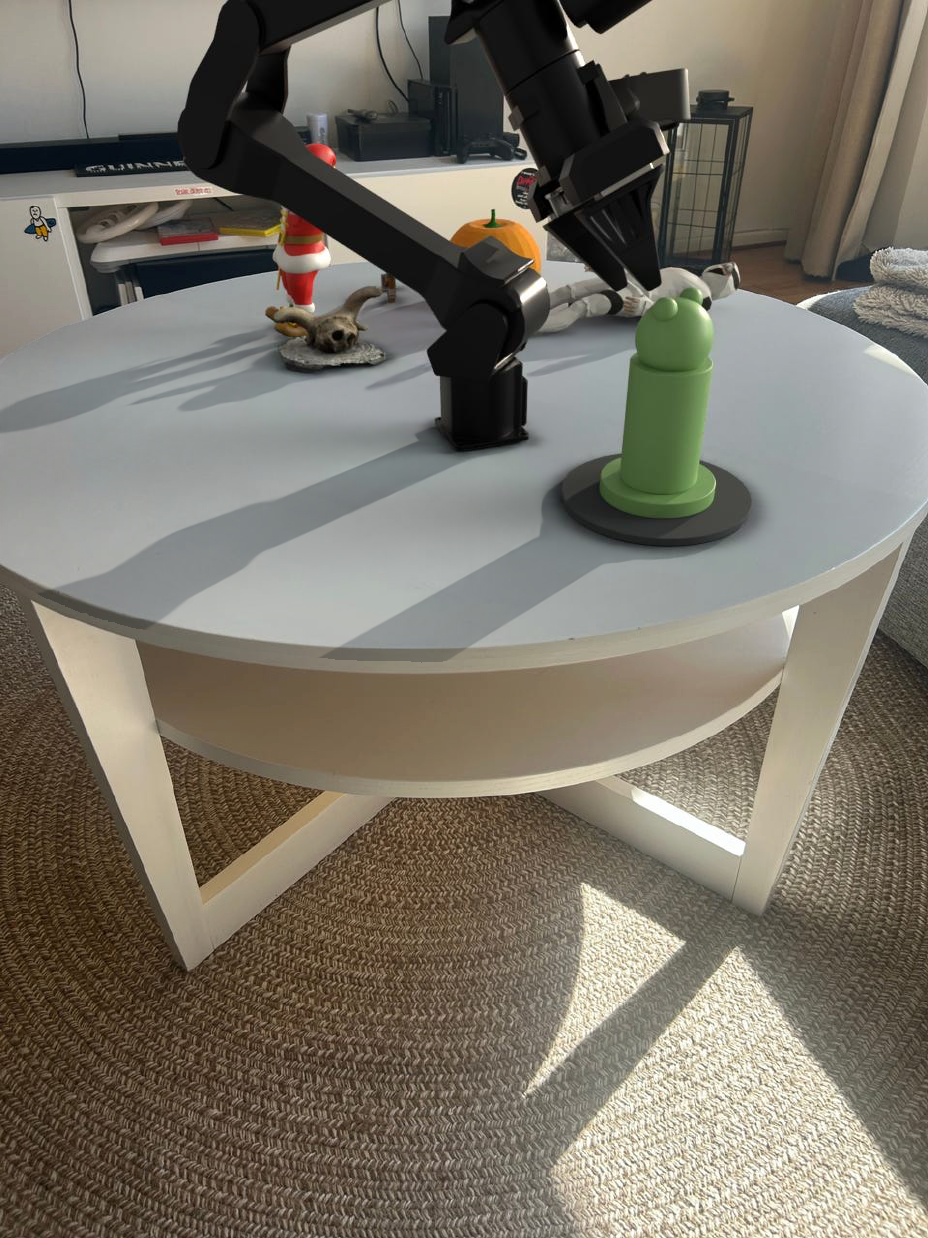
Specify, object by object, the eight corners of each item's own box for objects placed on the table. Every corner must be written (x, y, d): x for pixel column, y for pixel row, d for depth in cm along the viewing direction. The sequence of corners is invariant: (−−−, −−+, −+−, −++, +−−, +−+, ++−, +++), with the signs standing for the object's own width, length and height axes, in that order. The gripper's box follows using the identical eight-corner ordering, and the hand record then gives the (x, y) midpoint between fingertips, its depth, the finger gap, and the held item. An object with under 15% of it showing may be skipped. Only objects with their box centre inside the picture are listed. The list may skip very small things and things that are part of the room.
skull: (276, 351, 101) (262, 297, 97) (378, 326, 103) (368, 272, 99) (293, 388, 93) (278, 331, 89) (403, 359, 95) (393, 302, 91)
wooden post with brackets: (385, 300, 109) (382, 259, 109) (383, 310, 117) (380, 272, 116) (400, 300, 110) (398, 259, 109) (397, 309, 117) (395, 271, 117)
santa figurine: (247, 293, 112) (265, 120, 103) (295, 300, 114) (317, 131, 105) (289, 362, 93) (316, 157, 83) (346, 369, 95) (378, 170, 86)
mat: (612, 561, 63) (613, 553, 63) (532, 474, 74) (532, 467, 74) (790, 525, 67) (791, 518, 66) (688, 448, 78) (689, 441, 77)
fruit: (439, 286, 118) (437, 200, 112) (531, 282, 119) (534, 197, 113) (447, 314, 108) (445, 222, 102) (548, 310, 109) (552, 218, 103)
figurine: (470, 261, 104) (715, 228, 110) (471, 315, 108) (707, 281, 114) (507, 308, 95) (774, 269, 100) (507, 366, 99) (763, 325, 105)
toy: (576, 493, 70) (589, 293, 62) (642, 457, 75) (662, 268, 66) (672, 531, 65) (699, 320, 57) (735, 490, 70) (769, 290, 62)
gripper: (691, -34, 54) (789, 223, 59) (614, 46, 72) (695, 239, 77) (522, 67, 55) (632, 312, 60) (487, 121, 73) (575, 308, 78)
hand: (637, 288), depth 69 cm, fingers open, 9 cm apart
